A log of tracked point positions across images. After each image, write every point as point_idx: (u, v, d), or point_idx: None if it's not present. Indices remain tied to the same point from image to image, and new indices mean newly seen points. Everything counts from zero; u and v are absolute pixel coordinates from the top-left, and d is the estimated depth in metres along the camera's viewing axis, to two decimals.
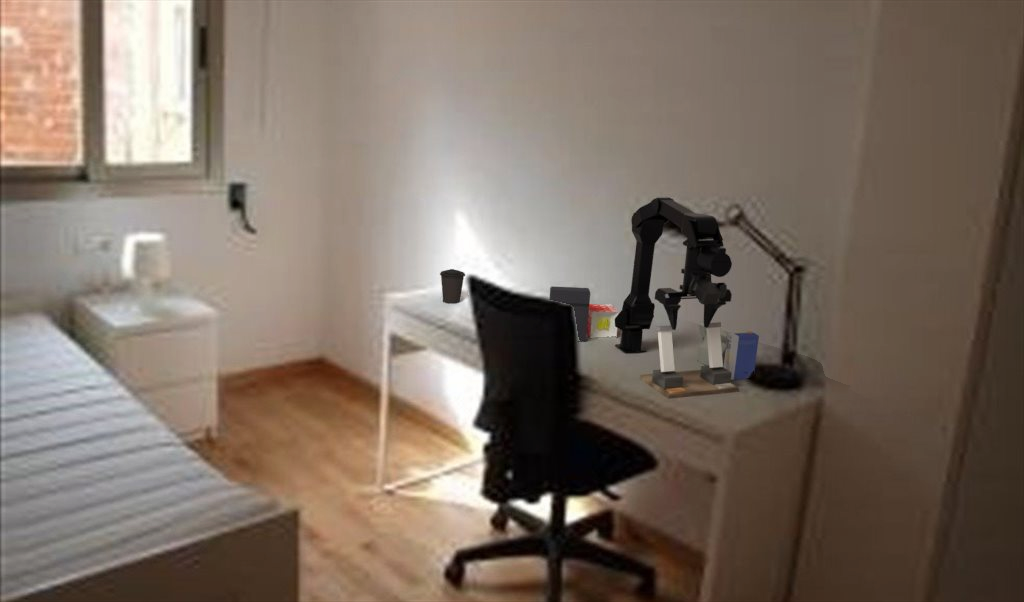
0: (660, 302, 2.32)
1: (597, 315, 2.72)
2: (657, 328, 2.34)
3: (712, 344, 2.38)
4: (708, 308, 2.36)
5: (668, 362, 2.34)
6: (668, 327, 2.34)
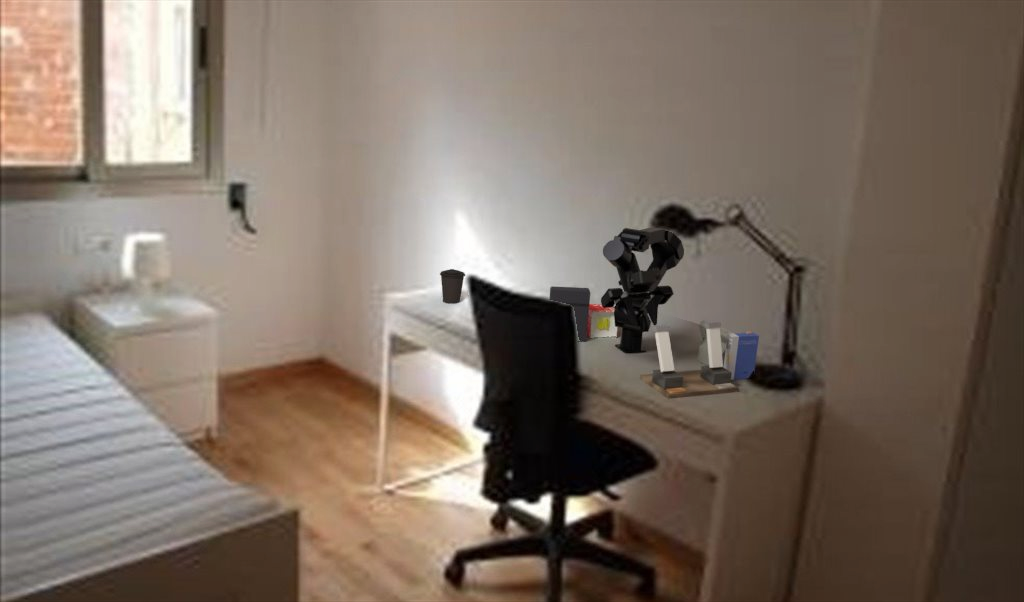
0: (615, 307, 2.45)
1: (597, 315, 2.72)
2: (654, 329, 2.36)
3: (712, 344, 2.38)
4: (650, 308, 2.46)
5: (667, 362, 2.34)
6: (665, 327, 2.35)
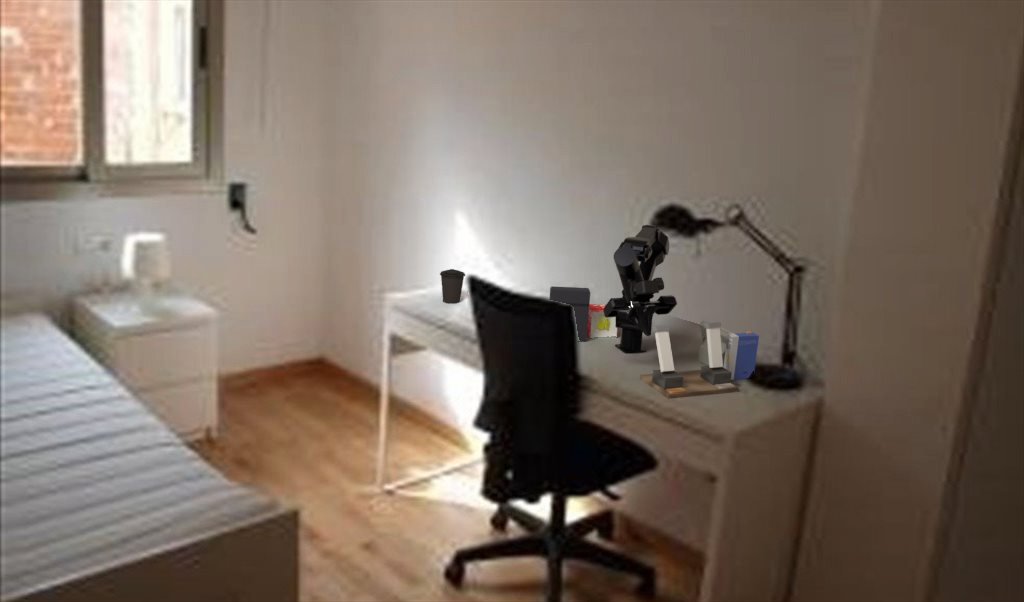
0: (626, 316, 2.44)
1: (597, 315, 2.72)
2: (654, 329, 2.36)
3: (712, 344, 2.38)
4: (645, 318, 2.44)
5: (667, 362, 2.34)
6: (665, 327, 2.35)
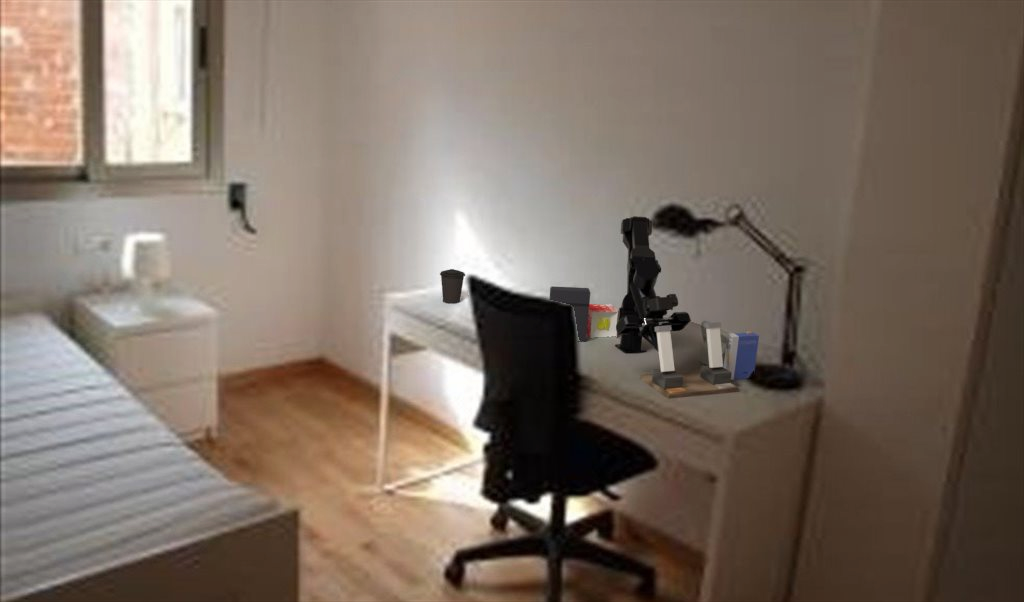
0: (639, 333, 2.39)
1: (597, 315, 2.72)
2: (656, 328, 2.35)
3: (712, 344, 2.38)
4: None
5: (668, 362, 2.34)
6: (667, 327, 2.35)
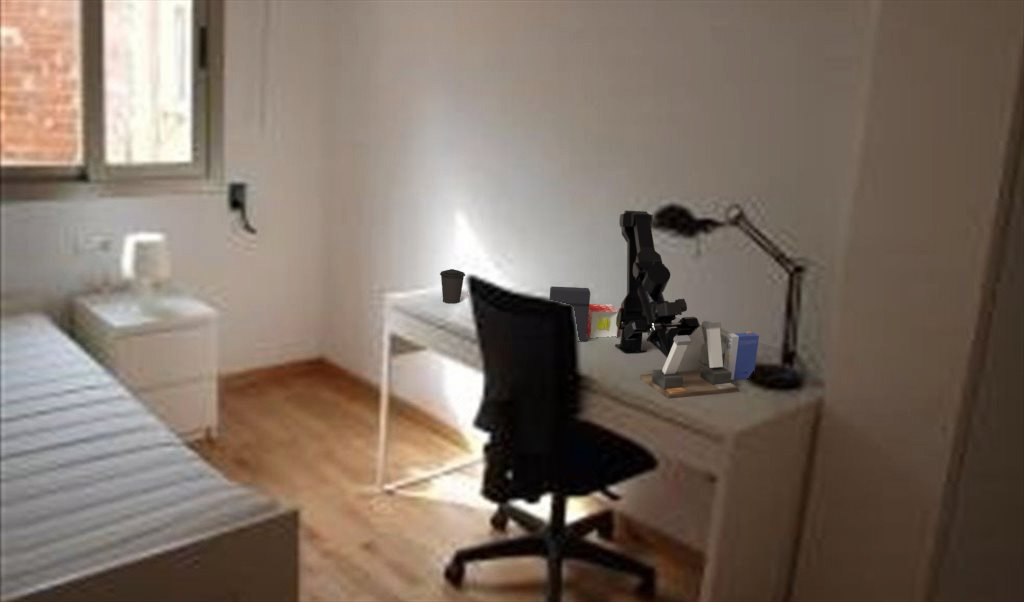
0: (647, 339, 2.35)
1: (597, 315, 2.72)
2: (675, 339, 2.27)
3: (712, 344, 2.38)
4: (667, 341, 2.35)
5: (672, 367, 2.32)
6: (686, 342, 2.27)
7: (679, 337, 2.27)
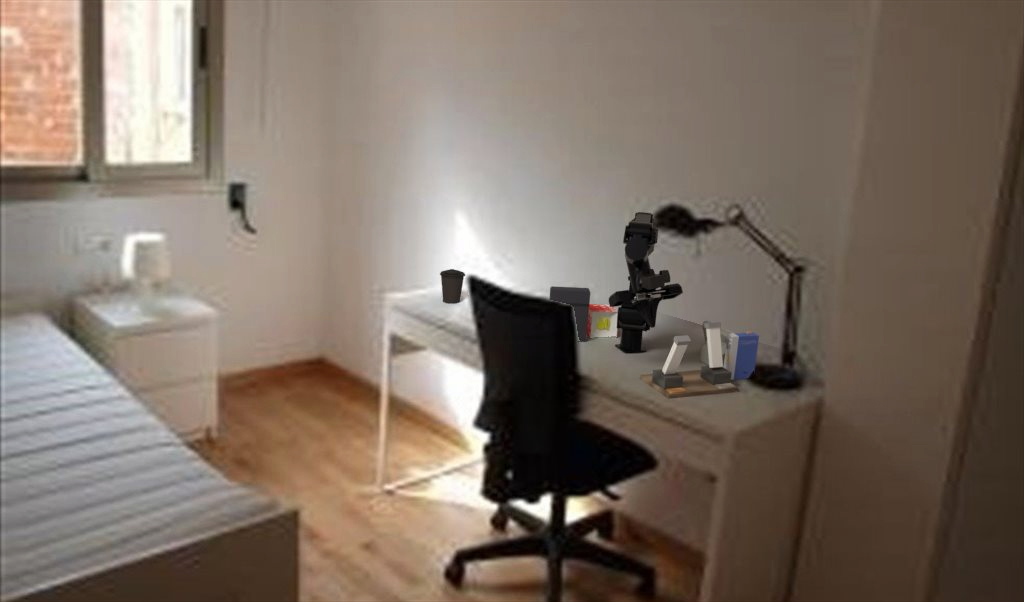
0: (631, 306, 2.45)
1: (597, 315, 2.72)
2: (675, 339, 2.27)
3: (712, 344, 2.38)
4: (650, 309, 2.44)
5: (672, 367, 2.32)
6: (686, 342, 2.27)
7: (679, 337, 2.27)
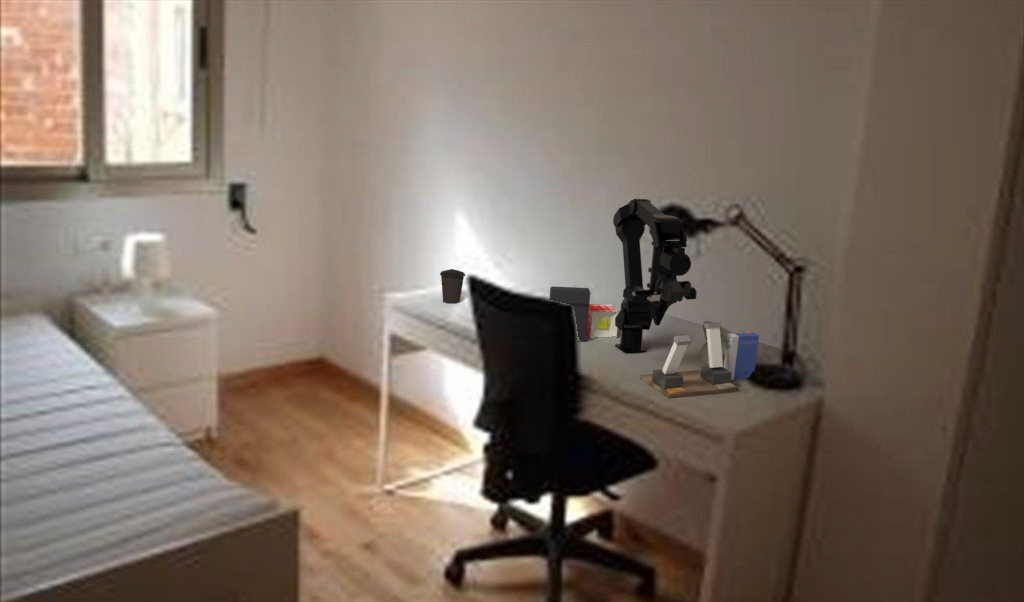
0: None
1: (597, 315, 2.72)
2: (675, 339, 2.27)
3: (712, 344, 2.38)
4: (659, 306, 2.45)
5: (672, 367, 2.32)
6: (686, 342, 2.27)
7: (679, 337, 2.27)
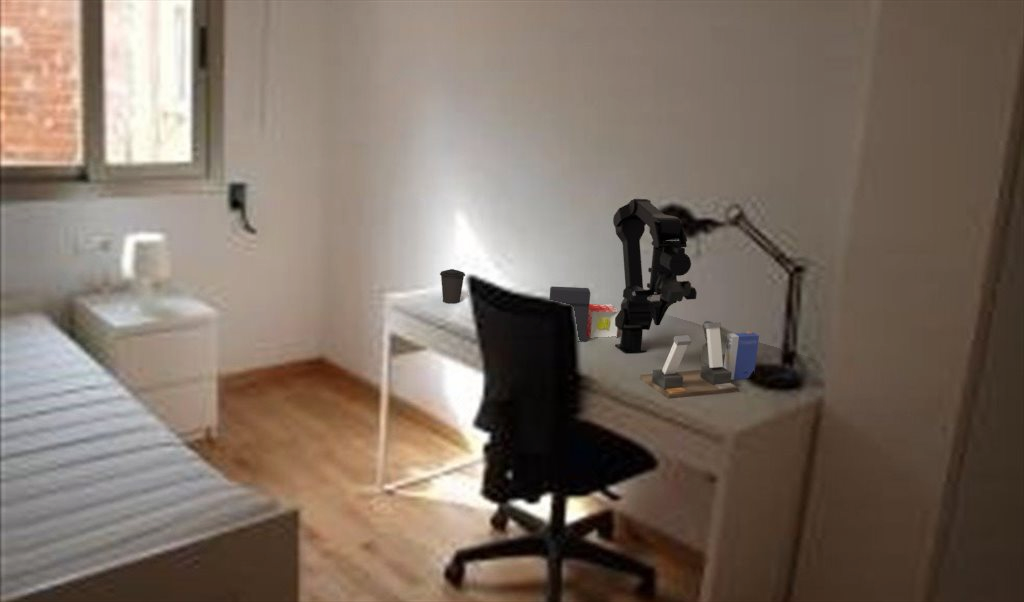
0: None
1: (597, 315, 2.72)
2: (675, 339, 2.27)
3: (712, 344, 2.38)
4: (659, 306, 2.45)
5: (672, 367, 2.32)
6: (686, 342, 2.27)
7: (679, 337, 2.27)
